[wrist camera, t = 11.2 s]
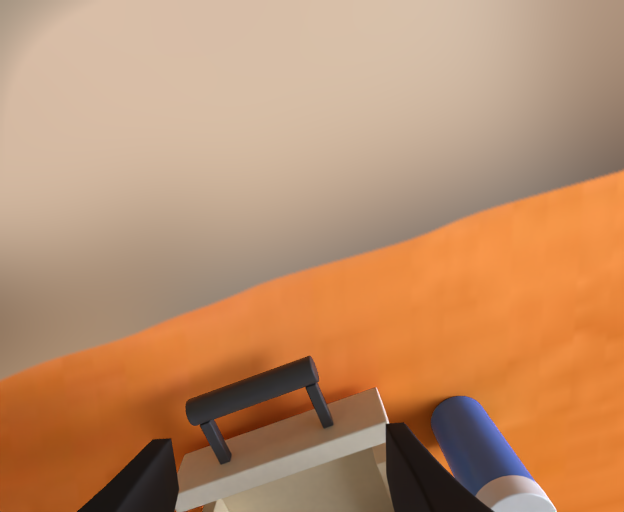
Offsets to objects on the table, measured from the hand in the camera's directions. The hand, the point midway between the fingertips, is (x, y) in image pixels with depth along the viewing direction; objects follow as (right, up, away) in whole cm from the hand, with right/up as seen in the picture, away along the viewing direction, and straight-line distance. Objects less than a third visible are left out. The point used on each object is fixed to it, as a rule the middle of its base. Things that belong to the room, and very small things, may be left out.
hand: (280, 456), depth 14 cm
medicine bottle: (+10, -3, +12) cm, 16 cm away
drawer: (+1, -7, +12) cm, 14 cm away
